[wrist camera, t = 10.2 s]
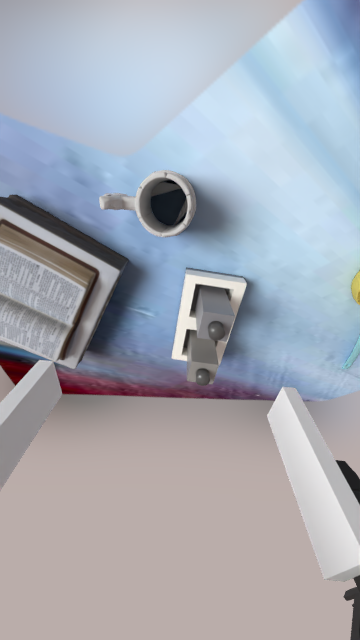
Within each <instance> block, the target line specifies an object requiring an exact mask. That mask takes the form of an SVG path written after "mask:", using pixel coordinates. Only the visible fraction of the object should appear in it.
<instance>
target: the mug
mask: <svg viewBox="0 0 360 640" xmlns="http://www.w3.org/2000/svg"><path fill="white" fill-rule="evenodd" d="M167 180H173V181H175V182H176V183H177V184H178V185H175V184H170V183H165V182H163V181H167ZM140 186H141V187H139V188H138V190H137V193H136V197H133V196H127V195H126V194H120V193H113V194H111V193H106V194H105V195H104V196H100V198H99V200H100V207H101V209H113V210H119V209H124V210H135V211H136V213H137V216H138V218H140V219H139V221H140V222H141V223H142V225H143V226H144V228H145V229H146V230H147V231H149V232H150V233H152V234H153V235H156V236H159V237H161V236H162V237H170V236H177V235H179V234H180V233H181V232H182V231H184V230H185V229H186V228H187V227H188V225H189V224H190V222H191V221H192V219H193V217H194V214H195V211H196V196H195V193H194V190H193V188H192V186H191V184H190V183H189V182H188V180H187V179H186V178H185V177H184V176H182V175H180V174H178V173H176V172H173V171H169V170H162V171H157V172H156V171H155V172H153V173H152V174H150V175H149V176H148V177H147V178H146V179H145V180H144V181H143V182H142V183H141V184H140ZM181 188H182V189H183V191H184V193H185V195H186V197H187V198H186V200H185V202H184V204H183V207H182V209H181V211H180V213H179V216H178V218H177V220H176V223H175V225H169V226H168V225H165V224H163V223H161V222H159V221H158V220H157V219H156V217H155V216H154V214H153V213H152V209H151V196H155V195H159V194H162V193H166V192H170V191H173V190H177V189H181ZM186 212H187V215H186V218H185V219H184V220H183V221H182V222H180V223H179V224H177V223H178V221H179V220H180V219H181V218H182V217H183V216H184V214H185V213H186ZM176 224H177V225H176Z"/></svg>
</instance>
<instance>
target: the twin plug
mask: <svg viewBox="0 0 360 640" xmlns="http://www.w3.org/2000/svg"><path fill="white" fill-rule="evenodd" d="M218 366H219V363H218V357H217V352H216V346H215V341H214V340H209V339H202V338H197V330H191V329H190V333H189V338H188V343H187V381H193V382H196V383H197V384H199V385H202V386H204V385H207V384H213V381H214V378H215V375H216V372H217V369H218Z"/></svg>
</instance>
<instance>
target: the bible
mask: <svg viewBox="0 0 360 640" xmlns="http://www.w3.org/2000/svg"><path fill="white" fill-rule="evenodd" d="M128 261H129V260H128V259H127V258H125V257H124V256H122V255H120V254H118V253H117V252H115V251H113V250H111V249H110V248H108V247H106V246H104V245H102V244H101V243H99V242H97V241H96V240H94V239H93V238H91V237H89V236H87V235H85V234H84V233H82V232H80V231H78V230H77V229H75V228H74V227H72V226H70V225H68V224H67V223H65V222H63V221H61V220H59V219H58V218H56V217H54V216H53V215H51V214H49V213H48V212H46V211H44V210H43V209H40V208H38V207H36V206H35V205H33V204H32V203H30V202H28V201H26V200H25V199H23V198H21V197H20V196H18V195H9V197H8V198H5V197H0V340H1V341H3V342H6V343H9V344H11V345H14V346H17V347H19V348H22V349H25V350H27V351H29V352H32V353H34V354H37V355H39V356H42V357H44V358H47V359H49V360H52V361H54V362H57V363H59V364H61V365H64V366H67V367H69V368H71V369H75V368H76V367H77V365H78V363H79V362H80V361H81V360H82V358H83V356H84V354H85V352H86V350H87V348H88V346H89V344H90V341H91V340H92V337H93V335H94V333H95V331H96V329H97V327H98V325H99V322H100V320H101V318H102V315H103V314H104V312H105V309H106V307H107V305H108V303H109V301H110V298H111V296H112V295H113V292H114V290H115V288H116V286H117V283H118V281H119V279H120V277H121V275H122V273H123V270H124V268H125V266H126V264H127V263H128Z"/></svg>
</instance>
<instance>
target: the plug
mask: <svg viewBox="0 0 360 640" xmlns="http://www.w3.org/2000/svg"><path fill="white" fill-rule="evenodd" d="M195 311H196V327H197V338H202V339H209V340H215V341H223V342H227V340H228V337H229V334H230V331H231V328H232V325H233V322H234V319H235V314H234V312H233V309H232V307H231V304H230V302H229V299H228V296H227V294H226V291H225V289H224V288H220V287H213V286H207V285H200V286H199V291H198V296H197V300H196V305H195Z"/></svg>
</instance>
